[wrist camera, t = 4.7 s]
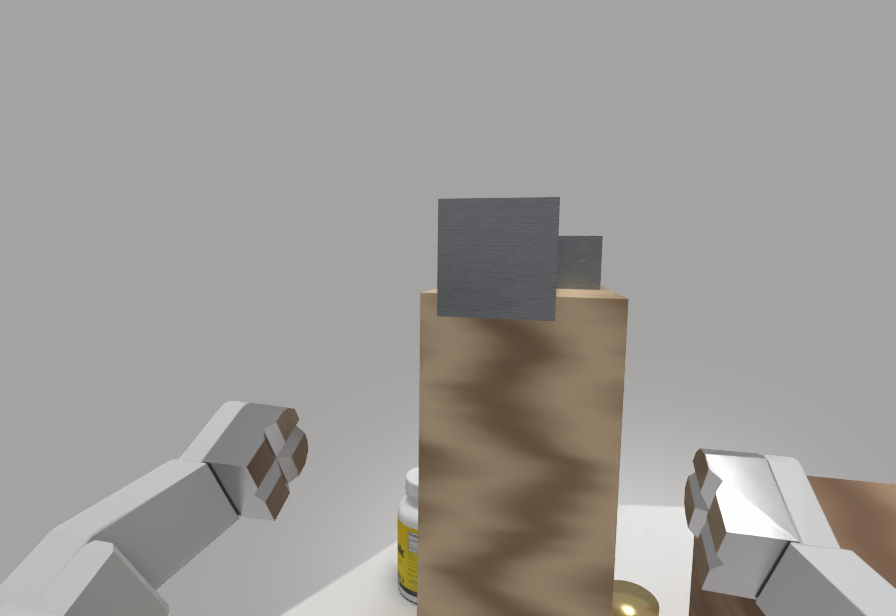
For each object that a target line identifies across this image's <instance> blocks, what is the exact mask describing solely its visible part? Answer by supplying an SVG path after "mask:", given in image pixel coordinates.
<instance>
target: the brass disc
mask: <svg viewBox="0 0 896 616" xmlns="http://www.w3.org/2000/svg"><path fill="white" fill-rule="evenodd" d="M612 616H659V604H658V601H657V600H656V598H655V597H654V596H653V595H652V594H651V593H650V592H649V591H648V590H646V589H645V588H643V587H641V586H639V585H637V584H635V583H632V582H628V581H621V580H614V583H613V602H612Z"/></svg>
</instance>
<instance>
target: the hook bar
mask: <svg viewBox="0 0 896 616" xmlns="http://www.w3.org/2000/svg"><path fill="white" fill-rule="evenodd" d="M438 204H439V205H438V273H437V274H438V275H437V276H438V277H437V279H438V280H437V316H443V317H467V318H491V319H516V320H540V321H555V311H556V289H586V290H600V280H601V258H602V236H558V231H559V205H560V197H546V198H545V197H544V198H543V197H541V198H471V199H470V198H469V199H468V198H467V199H439V201H438Z"/></svg>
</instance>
